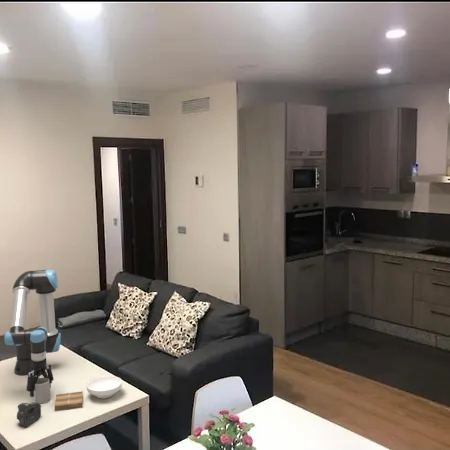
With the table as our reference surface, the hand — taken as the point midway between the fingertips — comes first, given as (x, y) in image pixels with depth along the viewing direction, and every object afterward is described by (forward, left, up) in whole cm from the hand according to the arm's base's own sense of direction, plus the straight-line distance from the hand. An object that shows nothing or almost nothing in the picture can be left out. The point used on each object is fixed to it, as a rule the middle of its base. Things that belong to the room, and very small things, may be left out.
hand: (41, 398), depth 266 cm
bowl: (+5, +34, -1) cm, 34 cm away
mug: (-1, +1, -1) cm, 1 cm away
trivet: (+9, +15, -1) cm, 18 cm away
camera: (+23, -4, -1) cm, 24 cm away
